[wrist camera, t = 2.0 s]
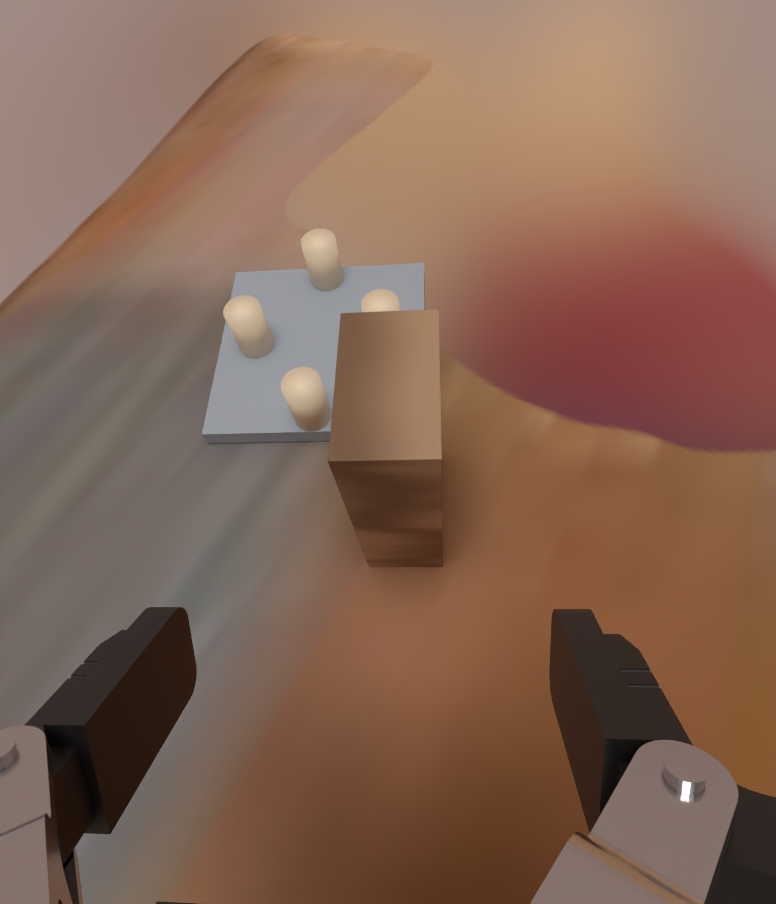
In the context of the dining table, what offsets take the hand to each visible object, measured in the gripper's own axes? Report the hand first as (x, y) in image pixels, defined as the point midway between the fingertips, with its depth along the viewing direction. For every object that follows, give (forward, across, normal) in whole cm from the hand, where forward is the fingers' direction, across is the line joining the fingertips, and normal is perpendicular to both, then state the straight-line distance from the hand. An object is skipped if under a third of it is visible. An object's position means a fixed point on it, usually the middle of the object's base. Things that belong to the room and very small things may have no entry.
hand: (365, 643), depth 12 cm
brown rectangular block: (+16, 0, +3) cm, 16 cm away
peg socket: (+23, +5, -4) cm, 24 cm away
